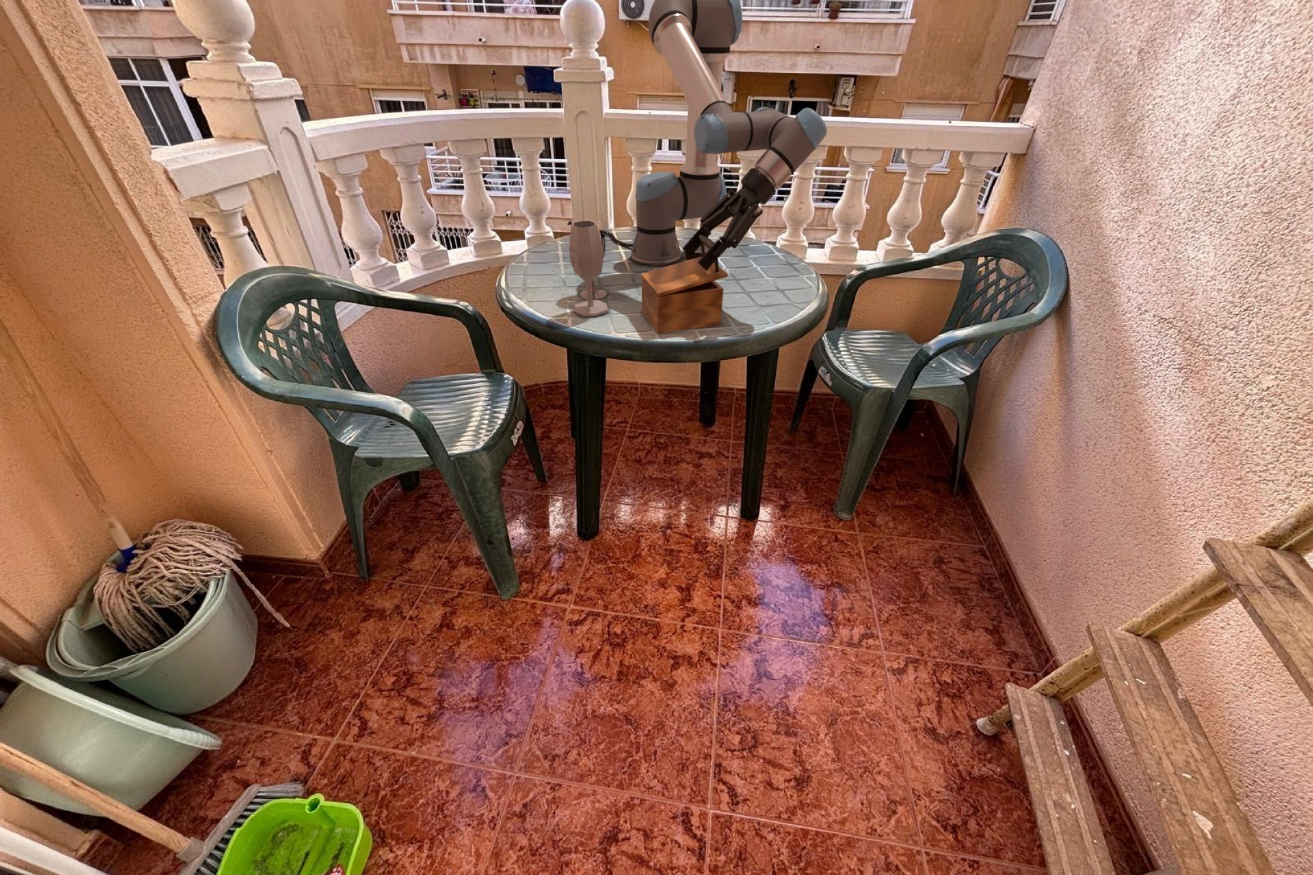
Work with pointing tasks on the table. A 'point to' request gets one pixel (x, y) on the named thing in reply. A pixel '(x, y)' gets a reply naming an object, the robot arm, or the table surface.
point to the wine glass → (596, 292)
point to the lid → (684, 273)
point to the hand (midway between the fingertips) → (694, 259)
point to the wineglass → (587, 262)
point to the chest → (683, 307)
